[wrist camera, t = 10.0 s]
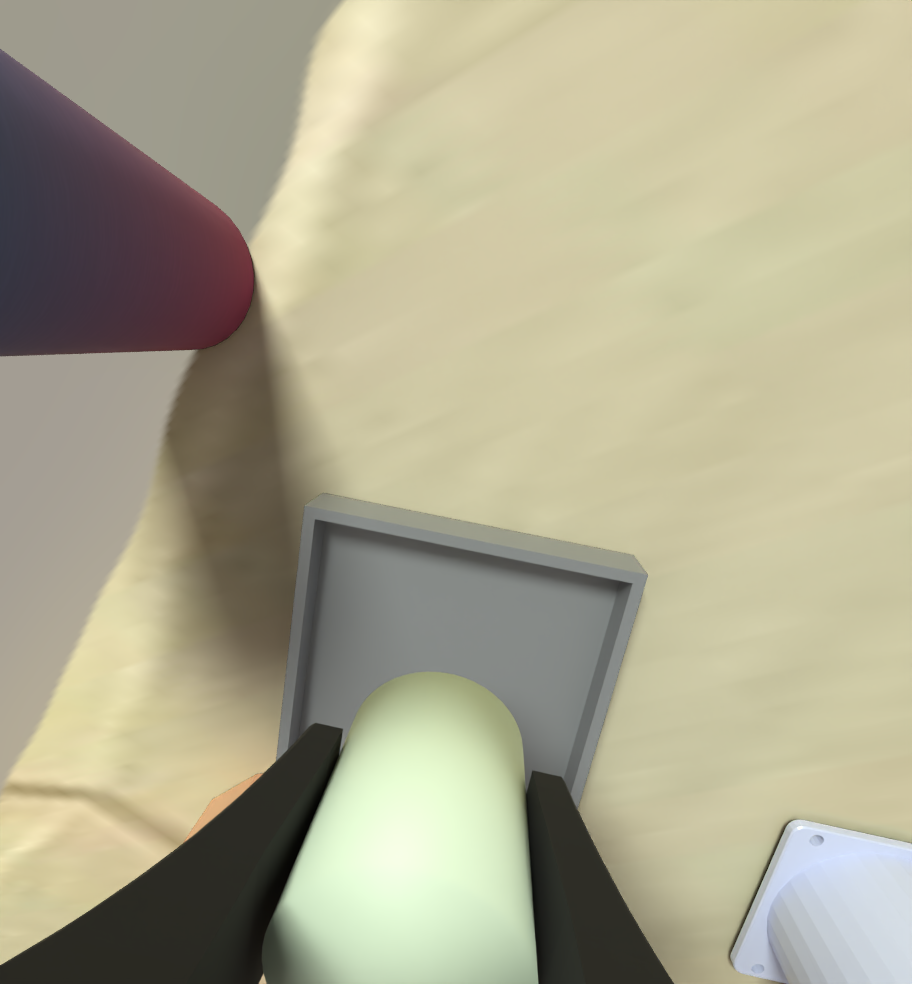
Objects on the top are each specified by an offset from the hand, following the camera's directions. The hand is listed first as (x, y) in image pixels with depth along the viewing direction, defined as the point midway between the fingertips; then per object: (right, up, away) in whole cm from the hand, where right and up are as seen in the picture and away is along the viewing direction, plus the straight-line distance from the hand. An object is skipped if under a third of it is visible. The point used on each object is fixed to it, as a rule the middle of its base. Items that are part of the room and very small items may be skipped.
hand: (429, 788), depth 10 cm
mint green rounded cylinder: (0, 0, +1) cm, 1 cm away
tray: (0, -1, +9) cm, 9 cm away
